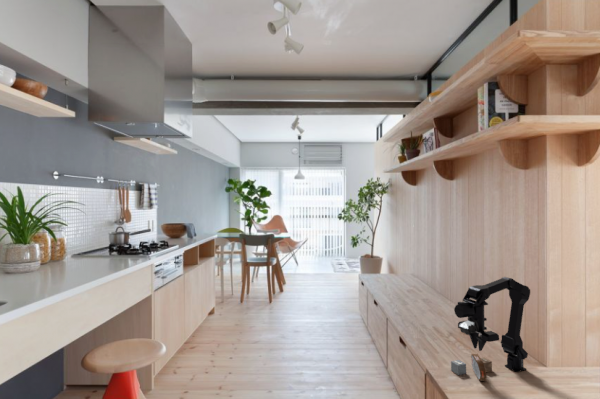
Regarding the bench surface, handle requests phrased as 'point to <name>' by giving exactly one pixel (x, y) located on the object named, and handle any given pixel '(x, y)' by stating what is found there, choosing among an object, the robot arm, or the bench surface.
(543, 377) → the bench surface
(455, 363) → the slate number block
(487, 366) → the walnut number block
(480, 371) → the tin
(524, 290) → the robot arm
